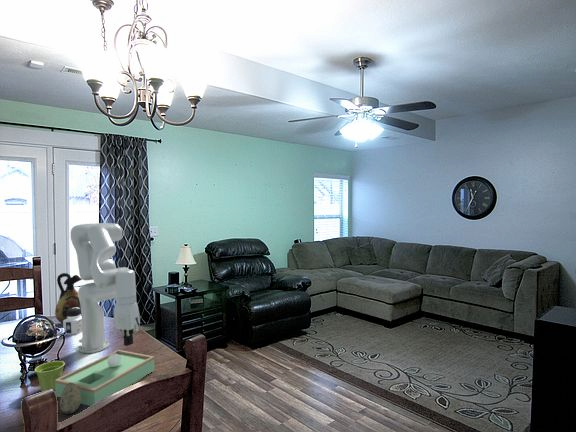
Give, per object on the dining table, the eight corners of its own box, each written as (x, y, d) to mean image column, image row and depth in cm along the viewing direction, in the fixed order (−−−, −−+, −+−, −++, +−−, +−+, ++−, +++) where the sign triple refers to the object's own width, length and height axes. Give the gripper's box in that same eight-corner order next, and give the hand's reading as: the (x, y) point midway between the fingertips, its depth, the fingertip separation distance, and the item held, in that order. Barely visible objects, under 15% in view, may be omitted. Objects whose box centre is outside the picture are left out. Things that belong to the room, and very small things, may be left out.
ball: (104, 368, 140) (103, 355, 140) (115, 362, 144) (114, 350, 144) (113, 370, 138) (113, 357, 138) (124, 364, 142) (123, 352, 142)
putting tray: (55, 396, 129) (54, 379, 129) (119, 363, 155) (118, 349, 155) (94, 407, 122) (94, 390, 121) (154, 370, 148) (154, 356, 147)
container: (77, 334, 191) (76, 310, 190) (63, 334, 191) (62, 310, 191) (85, 329, 199) (84, 306, 198) (72, 329, 199) (71, 306, 198)
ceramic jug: (89, 318, 218) (86, 269, 217) (83, 326, 204) (81, 274, 202) (56, 321, 213) (54, 271, 211) (48, 330, 198) (46, 276, 197)
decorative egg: (72, 418, 116) (70, 388, 115) (55, 417, 117) (54, 387, 116) (85, 408, 121) (84, 379, 121) (70, 406, 123) (68, 378, 122)
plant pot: (45, 383, 139) (44, 361, 139) (70, 381, 140) (69, 359, 140) (30, 396, 130) (28, 372, 130) (57, 394, 131) (56, 371, 130)
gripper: (105, 301, 146) (107, 345, 146) (132, 304, 140) (135, 350, 140) (120, 296, 153) (122, 339, 153) (147, 299, 147) (149, 343, 147)
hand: (128, 344), depth 147 cm, fingers closed
